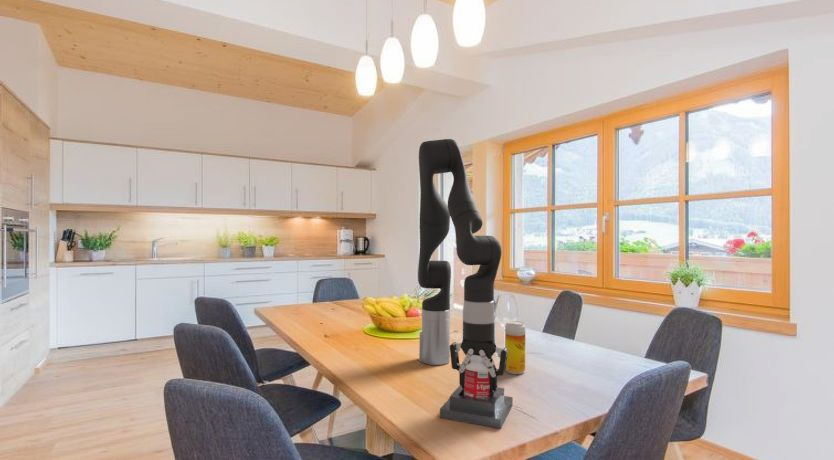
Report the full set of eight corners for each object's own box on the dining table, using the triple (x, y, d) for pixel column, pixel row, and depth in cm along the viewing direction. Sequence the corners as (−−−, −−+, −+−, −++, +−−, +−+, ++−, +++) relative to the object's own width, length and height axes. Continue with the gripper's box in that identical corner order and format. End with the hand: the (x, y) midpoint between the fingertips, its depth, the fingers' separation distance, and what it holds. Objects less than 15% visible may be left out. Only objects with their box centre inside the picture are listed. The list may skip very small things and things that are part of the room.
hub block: (439, 417, 98) (439, 397, 98) (457, 396, 111) (458, 379, 111) (501, 428, 93) (501, 407, 93) (512, 405, 106) (512, 386, 106)
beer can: (525, 375, 129) (525, 325, 129) (504, 373, 130) (505, 324, 130) (524, 369, 135) (524, 321, 135) (504, 367, 136) (505, 320, 136)
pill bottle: (477, 407, 97) (479, 357, 98) (458, 400, 102) (460, 352, 103) (495, 403, 101) (497, 355, 102) (476, 397, 106) (478, 351, 107)
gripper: (444, 319, 102) (444, 390, 102) (505, 325, 96) (505, 400, 96) (454, 314, 109) (454, 380, 109) (511, 318, 103) (511, 388, 103)
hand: (478, 389), depth 102 cm, fingers closed on pill bottle, 6 cm apart
